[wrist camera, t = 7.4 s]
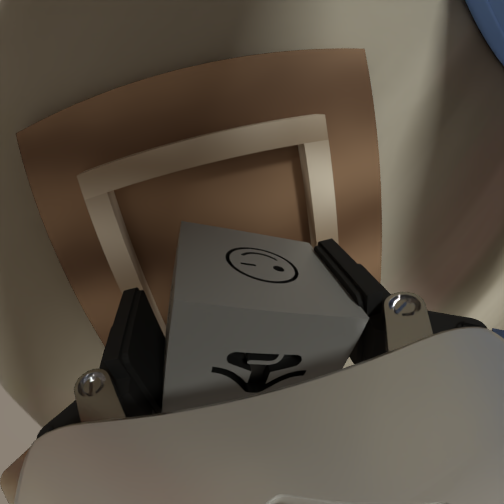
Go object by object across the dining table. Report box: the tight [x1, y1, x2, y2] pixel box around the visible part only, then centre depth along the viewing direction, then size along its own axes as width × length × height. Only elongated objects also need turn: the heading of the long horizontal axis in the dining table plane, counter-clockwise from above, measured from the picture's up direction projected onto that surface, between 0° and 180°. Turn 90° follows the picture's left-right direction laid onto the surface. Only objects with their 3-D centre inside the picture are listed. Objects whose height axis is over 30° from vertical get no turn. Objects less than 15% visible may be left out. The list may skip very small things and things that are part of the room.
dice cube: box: [161, 221, 369, 413], centre depth 10 cm, size 5×5×5 cm
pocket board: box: [16, 49, 382, 346], centre depth 16 cm, size 18×18×2 cm
